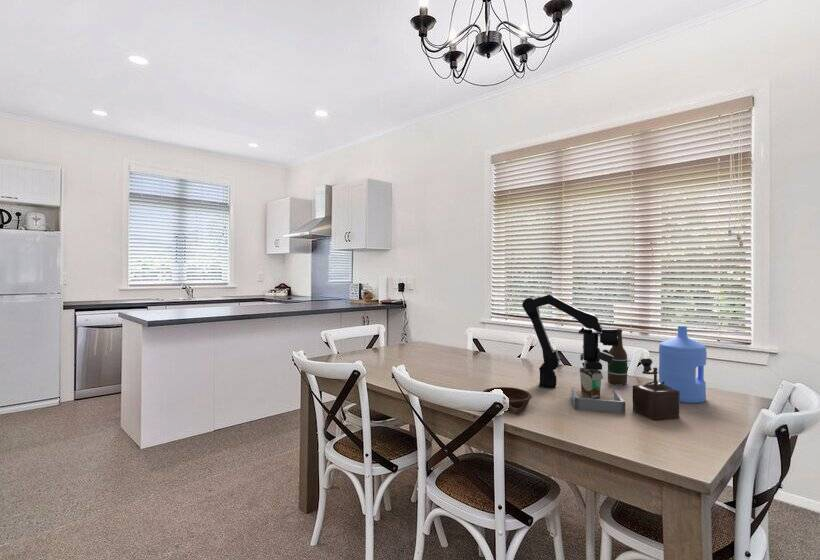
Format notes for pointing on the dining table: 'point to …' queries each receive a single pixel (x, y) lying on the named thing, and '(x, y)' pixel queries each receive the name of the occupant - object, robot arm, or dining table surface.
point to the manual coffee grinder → (655, 397)
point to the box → (599, 403)
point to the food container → (591, 382)
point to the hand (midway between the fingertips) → (590, 381)
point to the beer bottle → (618, 363)
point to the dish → (515, 398)
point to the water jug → (683, 366)
